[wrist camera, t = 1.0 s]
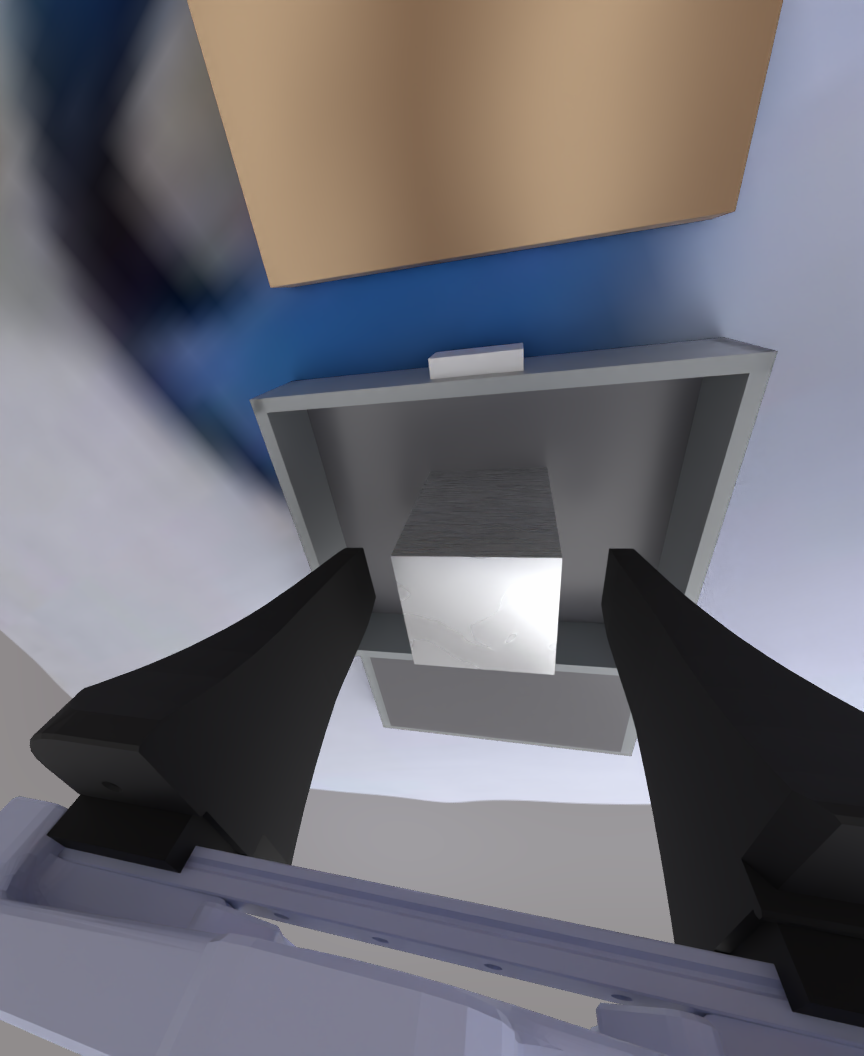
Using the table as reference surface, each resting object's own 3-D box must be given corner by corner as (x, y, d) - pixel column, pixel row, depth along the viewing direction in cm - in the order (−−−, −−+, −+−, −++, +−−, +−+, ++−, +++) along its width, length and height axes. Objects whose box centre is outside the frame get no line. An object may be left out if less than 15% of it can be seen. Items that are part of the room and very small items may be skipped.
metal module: (547, 467, 13) (562, 557, 8) (543, 567, 15) (553, 678, 11) (429, 472, 13) (390, 555, 9) (441, 565, 16) (415, 667, 11)
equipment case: (729, 315, 10) (786, 324, 8) (625, 732, 20) (638, 785, 18) (287, 365, 13) (242, 381, 11) (389, 707, 22) (376, 750, 20)
